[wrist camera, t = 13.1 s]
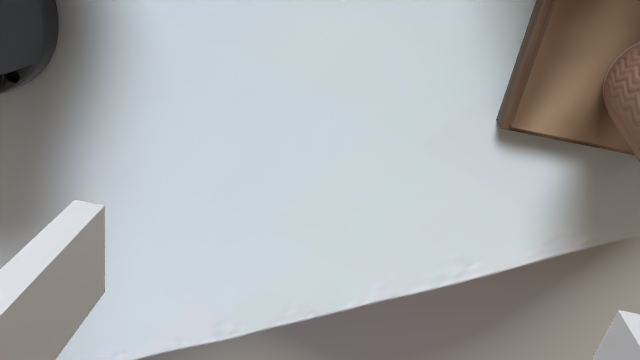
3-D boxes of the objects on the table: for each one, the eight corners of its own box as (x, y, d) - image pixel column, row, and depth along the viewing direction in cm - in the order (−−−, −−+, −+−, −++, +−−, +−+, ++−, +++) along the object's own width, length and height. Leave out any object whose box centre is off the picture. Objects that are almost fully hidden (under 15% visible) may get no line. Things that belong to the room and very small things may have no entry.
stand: (496, 119, 47) (503, 132, 45) (545, -27, 42) (556, -23, 39) (657, 151, 47) (674, 166, 44) (727, 8, 42) (751, 15, 39)
